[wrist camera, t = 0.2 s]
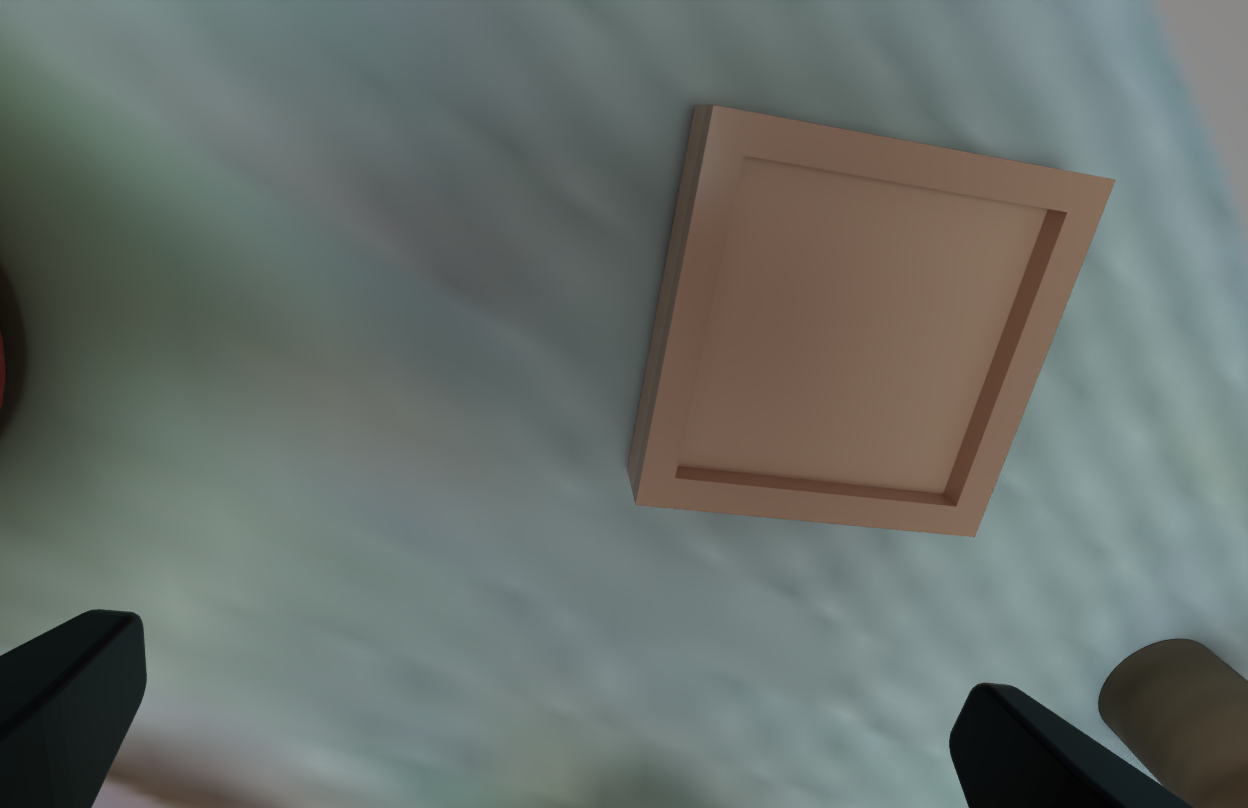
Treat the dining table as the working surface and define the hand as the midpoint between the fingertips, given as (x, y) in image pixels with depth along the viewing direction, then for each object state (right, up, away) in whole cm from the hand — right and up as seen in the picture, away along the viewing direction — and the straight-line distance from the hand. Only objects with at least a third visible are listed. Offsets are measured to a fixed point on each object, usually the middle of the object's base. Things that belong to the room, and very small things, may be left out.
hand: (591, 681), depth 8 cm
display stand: (+7, +5, +14) cm, 17 cm away
